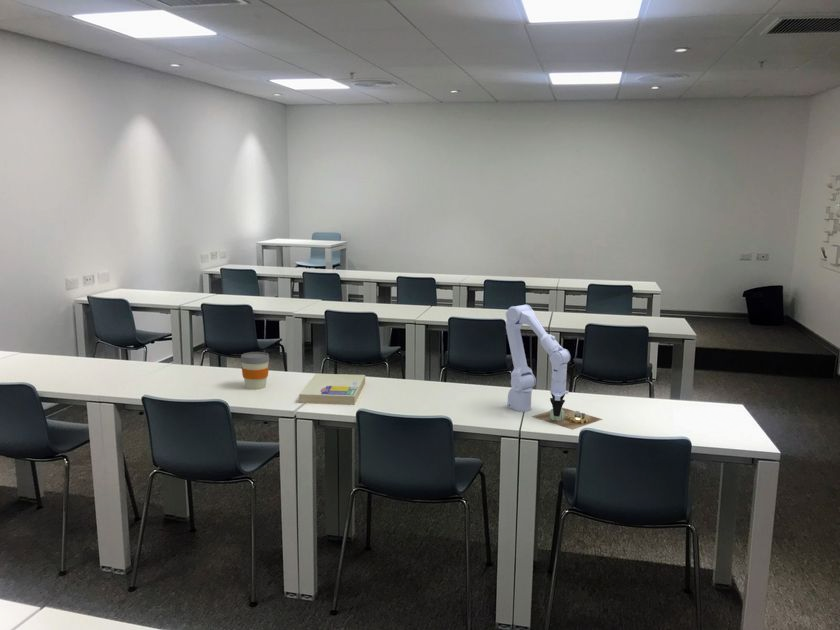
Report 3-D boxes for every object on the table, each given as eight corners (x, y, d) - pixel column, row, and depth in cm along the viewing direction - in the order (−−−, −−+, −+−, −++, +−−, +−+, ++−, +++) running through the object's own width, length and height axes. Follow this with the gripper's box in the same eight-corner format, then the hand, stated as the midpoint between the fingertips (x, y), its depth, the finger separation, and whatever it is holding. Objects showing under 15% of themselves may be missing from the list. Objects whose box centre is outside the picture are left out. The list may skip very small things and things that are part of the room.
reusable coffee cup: (271, 383, 316) (271, 351, 314) (267, 390, 304) (266, 358, 302) (244, 383, 316) (243, 351, 313) (238, 390, 303) (238, 358, 301)
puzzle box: (366, 384, 321) (315, 382, 322) (366, 374, 320) (315, 372, 321) (354, 406, 285) (297, 404, 287) (354, 396, 285) (297, 394, 286)
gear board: (531, 418, 272) (531, 407, 271) (561, 409, 285) (562, 399, 284) (572, 432, 257) (573, 420, 256) (602, 421, 270) (603, 410, 269)
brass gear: (561, 419, 268) (561, 411, 268) (574, 415, 274) (575, 407, 274) (580, 425, 262) (580, 416, 261) (593, 421, 268) (594, 412, 267)
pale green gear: (546, 418, 270) (547, 410, 269) (555, 415, 274) (555, 407, 273) (558, 421, 266) (558, 413, 265) (566, 418, 270) (567, 411, 269)
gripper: (569, 385, 259) (566, 419, 262) (569, 376, 273) (567, 408, 276) (550, 384, 261) (548, 418, 263) (551, 374, 275) (549, 407, 277)
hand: (556, 413), depth 269 cm, fingers open, 7 cm apart
